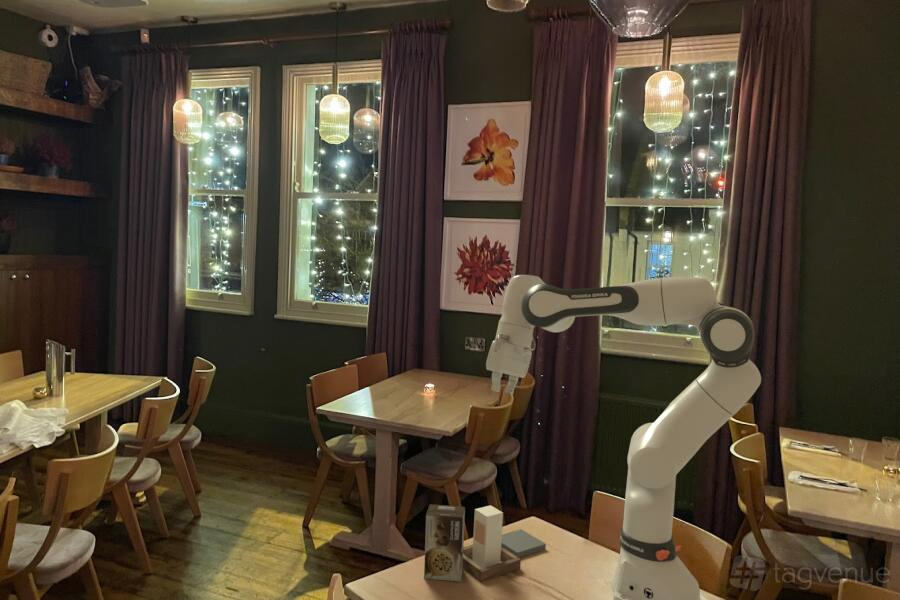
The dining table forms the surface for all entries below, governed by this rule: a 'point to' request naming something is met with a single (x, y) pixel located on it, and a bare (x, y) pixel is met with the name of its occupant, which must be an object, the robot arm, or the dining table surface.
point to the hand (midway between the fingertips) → (502, 392)
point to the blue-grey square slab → (521, 543)
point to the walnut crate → (492, 571)
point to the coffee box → (444, 542)
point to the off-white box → (487, 536)
